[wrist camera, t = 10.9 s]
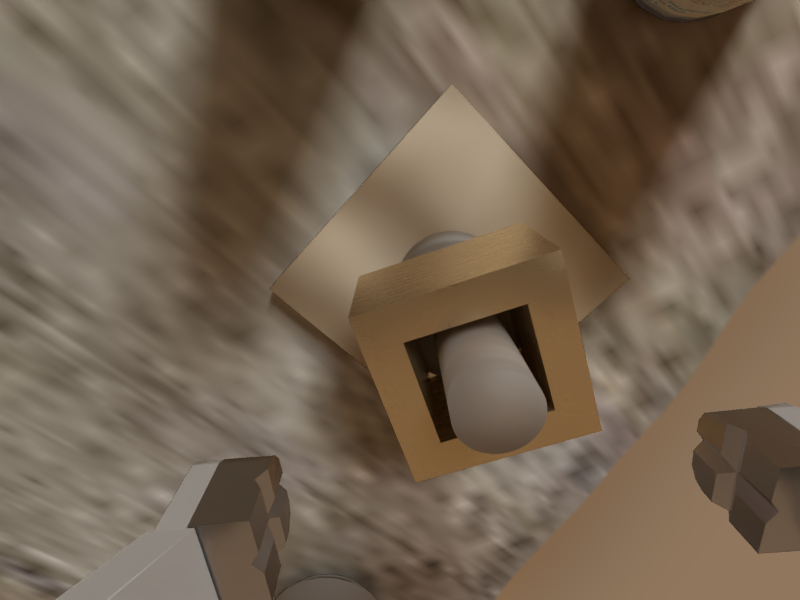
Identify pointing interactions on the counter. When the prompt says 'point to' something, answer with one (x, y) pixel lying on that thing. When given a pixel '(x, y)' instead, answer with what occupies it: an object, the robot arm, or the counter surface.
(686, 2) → the aerosol can
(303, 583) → the can
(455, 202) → the shaft stand
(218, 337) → the counter surface
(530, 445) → the collar
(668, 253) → the counter surface
